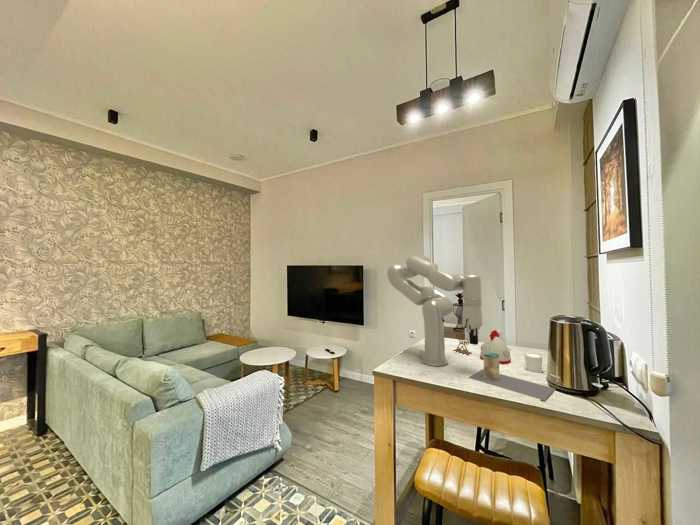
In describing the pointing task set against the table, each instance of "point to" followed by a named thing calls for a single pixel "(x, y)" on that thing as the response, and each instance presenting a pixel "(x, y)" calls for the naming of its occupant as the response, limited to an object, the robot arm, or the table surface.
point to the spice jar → (491, 366)
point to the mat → (517, 385)
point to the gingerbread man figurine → (463, 344)
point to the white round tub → (533, 362)
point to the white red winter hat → (496, 348)
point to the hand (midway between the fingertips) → (473, 343)
